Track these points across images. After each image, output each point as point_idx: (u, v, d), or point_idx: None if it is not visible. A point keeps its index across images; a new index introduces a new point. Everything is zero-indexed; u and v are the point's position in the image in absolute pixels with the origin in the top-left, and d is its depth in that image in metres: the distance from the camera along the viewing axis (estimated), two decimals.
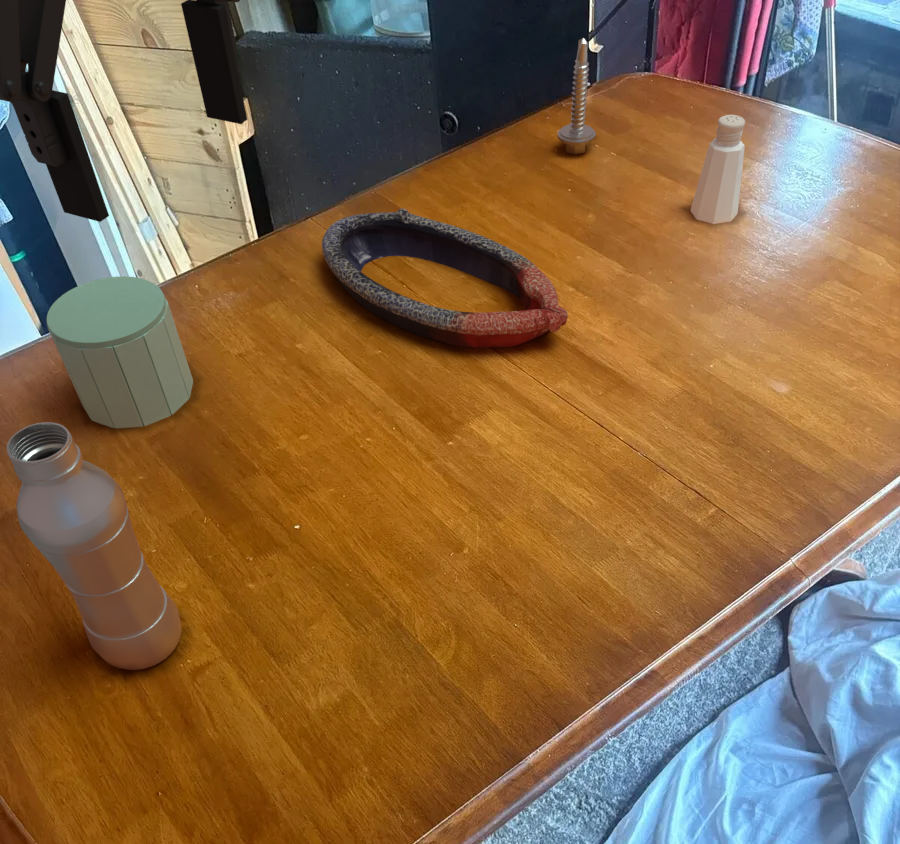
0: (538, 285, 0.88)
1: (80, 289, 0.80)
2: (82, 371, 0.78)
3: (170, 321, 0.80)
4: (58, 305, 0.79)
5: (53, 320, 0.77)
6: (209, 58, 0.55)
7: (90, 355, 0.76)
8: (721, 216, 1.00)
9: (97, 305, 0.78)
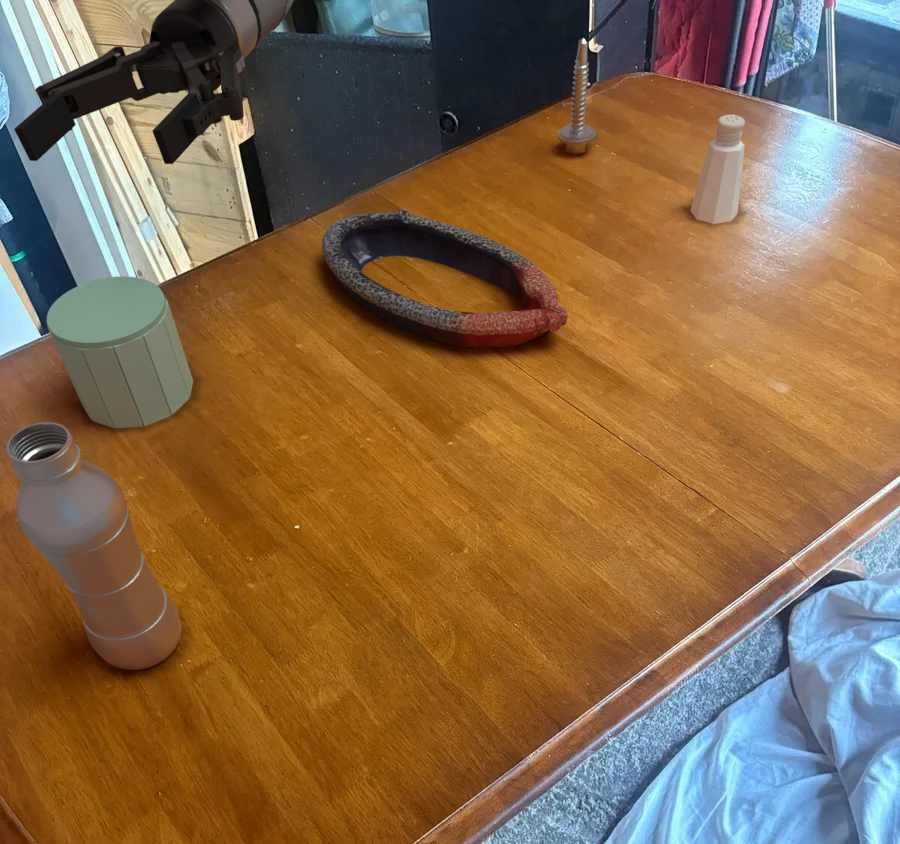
0: (538, 285, 0.88)
1: (80, 289, 0.80)
2: (82, 371, 0.78)
3: (170, 321, 0.80)
4: (58, 305, 0.79)
5: (53, 320, 0.77)
6: (51, 123, 0.78)
7: (90, 355, 0.76)
8: (721, 216, 1.00)
9: (97, 305, 0.78)
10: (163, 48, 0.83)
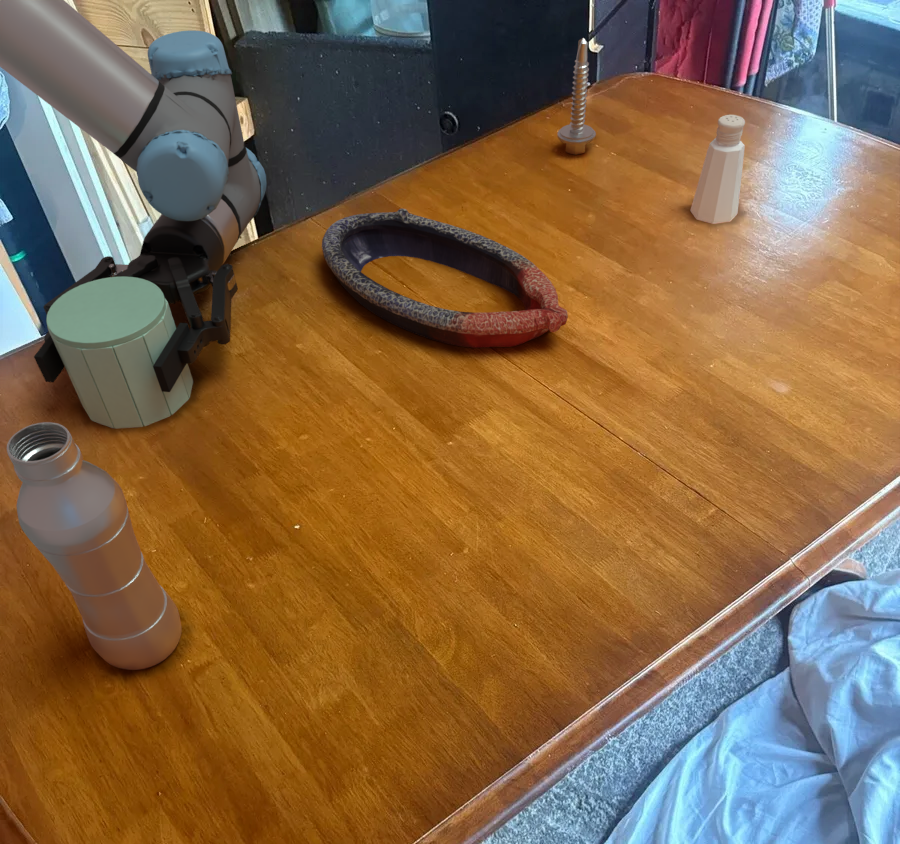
0: (538, 285, 0.88)
1: (80, 289, 0.80)
2: (82, 371, 0.78)
3: (170, 321, 0.80)
4: (58, 305, 0.79)
5: (53, 320, 0.77)
6: None
7: (90, 355, 0.76)
8: (721, 216, 1.00)
9: (97, 305, 0.78)
10: (157, 259, 0.88)
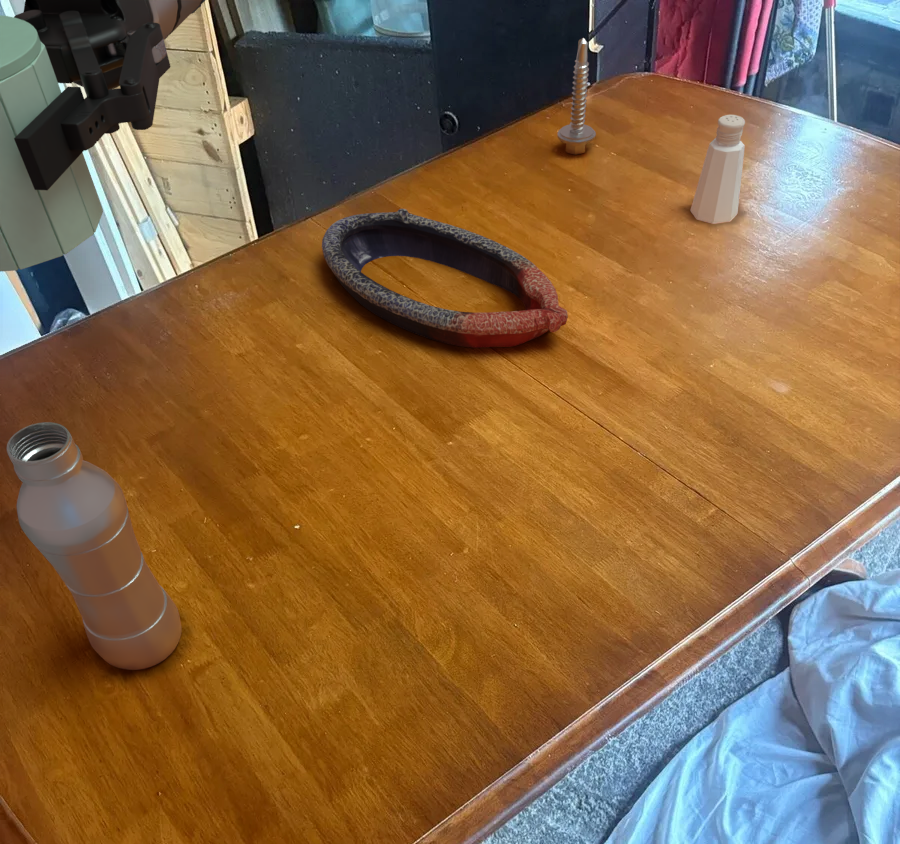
0: (538, 285, 0.88)
1: None
2: None
3: (50, 78, 0.49)
4: None
5: None
6: None
7: None
8: (721, 216, 1.00)
9: None
10: (46, 21, 0.58)
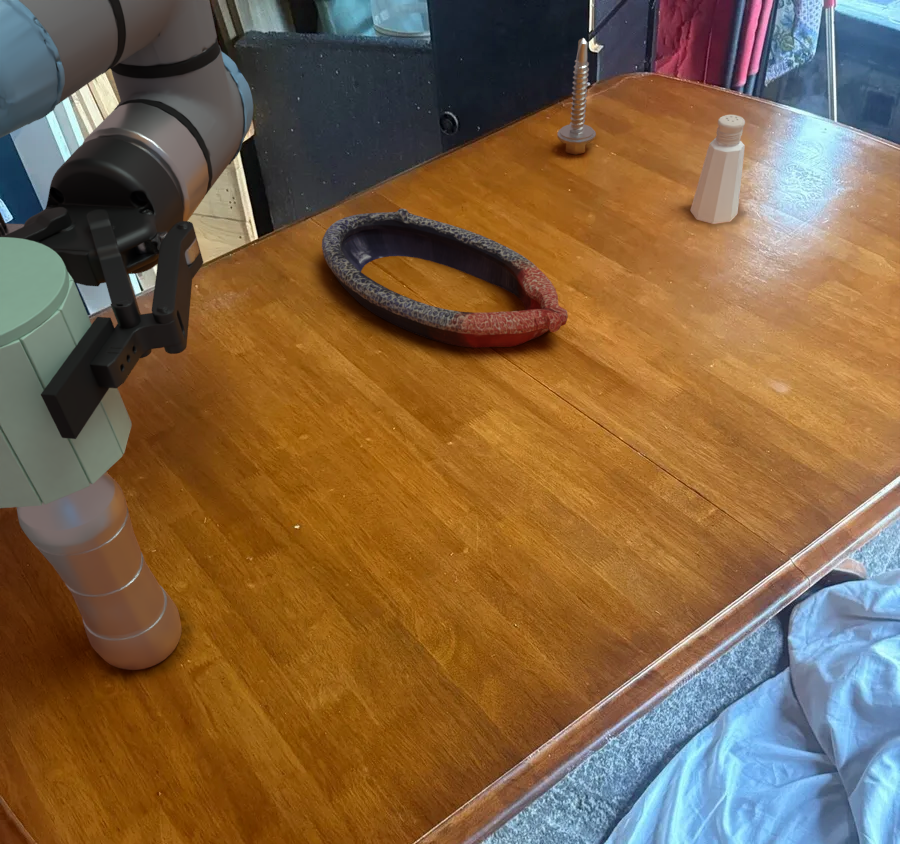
0: (538, 285, 0.88)
1: None
2: None
3: (78, 313, 0.46)
4: None
5: None
6: None
7: None
8: (721, 216, 1.00)
9: None
10: (71, 215, 0.54)
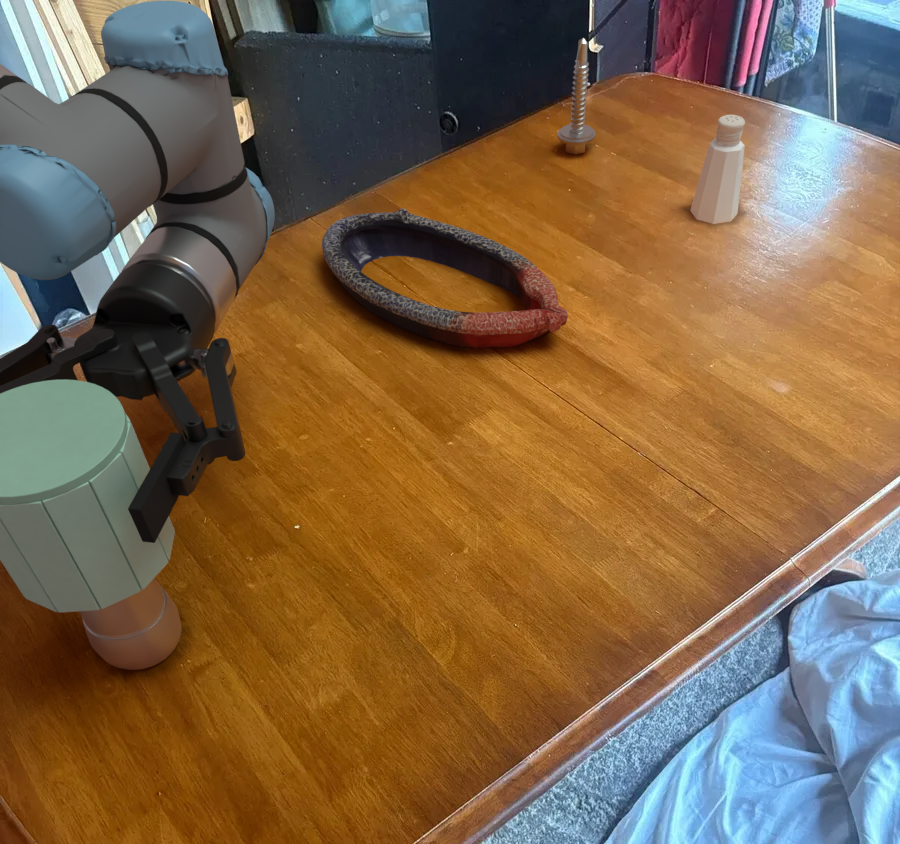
0: (538, 285, 0.88)
1: None
2: None
3: (135, 449, 0.53)
4: None
5: None
6: None
7: (7, 513, 0.49)
8: (721, 216, 1.00)
9: (22, 429, 0.51)
10: (117, 333, 0.61)
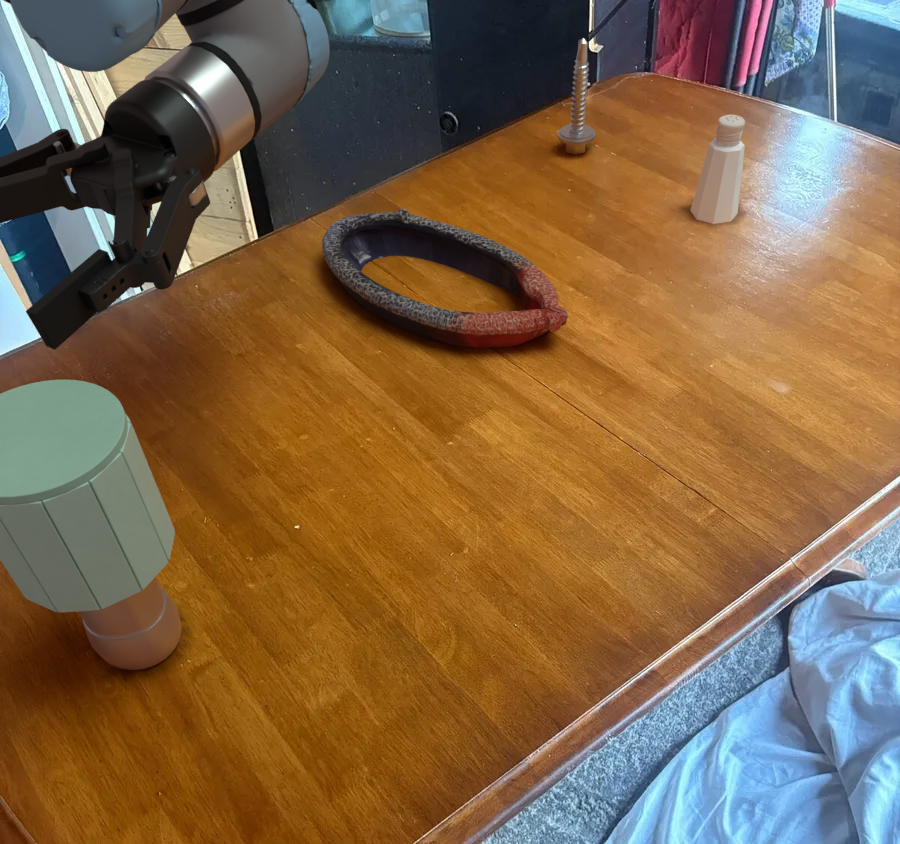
0: (538, 285, 0.88)
1: None
2: None
3: (135, 449, 0.53)
4: None
5: None
6: None
7: (7, 513, 0.49)
8: (721, 216, 1.00)
9: (22, 429, 0.51)
10: (113, 147, 0.63)
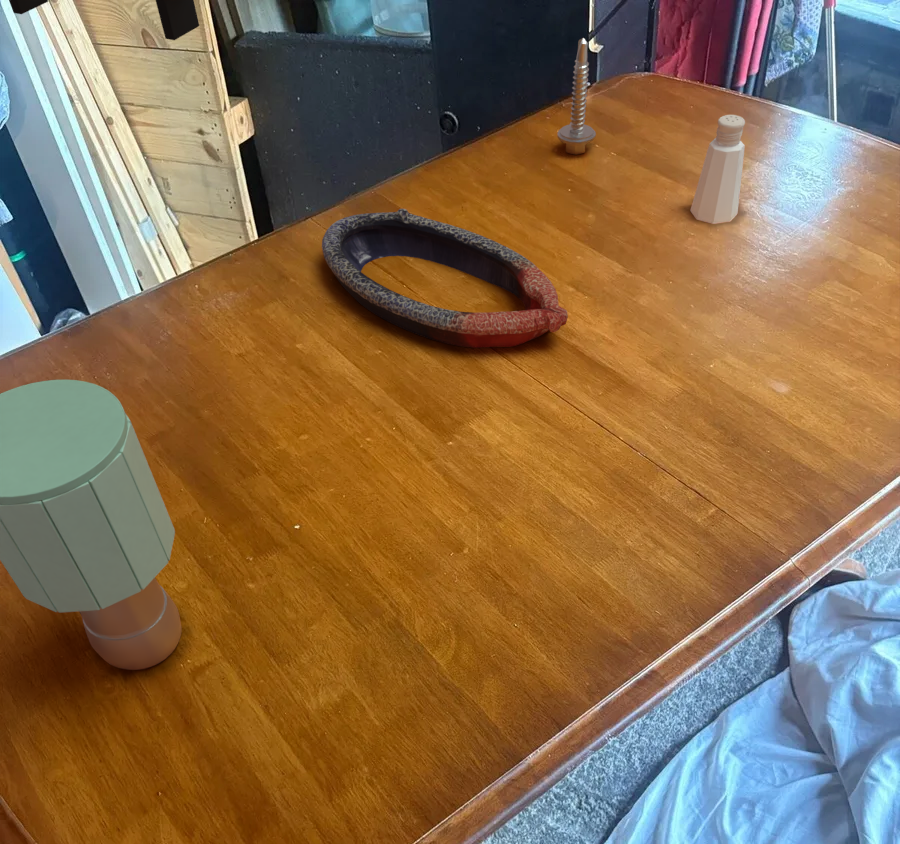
0: (538, 285, 0.88)
1: None
2: None
3: (135, 449, 0.53)
4: None
5: None
6: None
7: (7, 513, 0.49)
8: (721, 216, 1.00)
9: (22, 429, 0.51)
10: None
